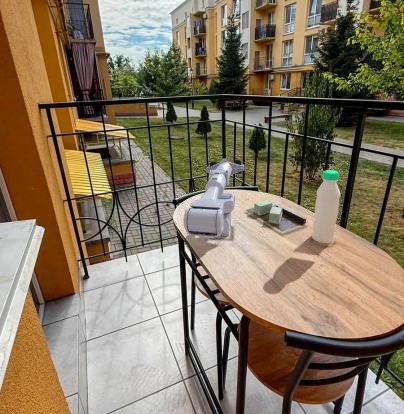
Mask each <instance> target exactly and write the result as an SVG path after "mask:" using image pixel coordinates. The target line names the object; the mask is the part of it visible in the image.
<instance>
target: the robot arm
mask: <svg viewBox="0 0 404 414" xmlns="http://www.w3.org/2000/svg"><path fill="white" fill-rule="evenodd" d="M244 171H245V164H242V160H241V159H235V160H234V162H230V161H228V158H222V159H221V160H220V162H218V161H210V163H209V166H207V167H206V173H207V174H208V180H207V183H206V184H205V192H204V194H203V195H202V196H201V197H200V199H198V200H195V201H193V202H191V203H190V206H189V207H187V208H186V209H185V211H184V214H183V220H182V221H183V222H182V223H183V228H184V230H185V232H186V234H187V235H191V236H196V237H199V238H204V239H213V240H214V239H216V240H220V238H219V237H229V236H230V232H231V230H232V212H233V211H234V210H235V207H236V195H235V193H234V192H224V190H225V189H226V188H228V187H229V184H230V177H231V176H232V175H241V174H242V173H243V172H244Z"/></svg>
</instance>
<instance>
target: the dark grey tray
mask: <svg viewBox="0 0 404 414" xmlns="http://www.w3.org/2000/svg"><path fill="white" fill-rule="evenodd" d="M266 200H267V201H270V202H272V203H274V204H276V207H281V208H282V217H281V220H280V224H275V223H269V215H270V213H266V214H263V215H260V216H259V215H258V214H256V213H254V212H253V210H254V207H251V208H248V209H245V211H246V212H248V213H250V214H251V215H253V216H254V217H257V218H258V219H259V220H261V221H263V222H265V223H267V224H268V225H270V226H271V227H273V228H276V230H278V231H280V232H284V231H285V232H286V231H288V230H291V229H294V228H297V227H300V226H302V225H305V224H307V218H306V217H305V216H303V215H300V214H298V213H297V212H294V211H292V210H290V209H288V208H286V207H284V206H281V205H280V204H277V203H276V202H274V201H271V200H269V199H266Z"/></svg>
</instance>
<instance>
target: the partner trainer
mask: <svg viewBox="0 0 404 414" xmlns="http://www.w3.org/2000/svg"><path fill="white" fill-rule="evenodd" d="M267 200H268V199H265V200H261V201H258V202H254V204H253V205H254V206H253V208H254V210H253V212H254V213H256V214H258V215H259V216H260V215H263V214H266V213H270V211H271V208H272V207H276V204H277V203H275V202H273V201H271V200H269V201H267ZM270 201H271V202H270ZM272 202H273V203H272ZM274 203H275V204H274Z"/></svg>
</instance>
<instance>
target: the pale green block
mask: <svg viewBox="0 0 404 414" xmlns="http://www.w3.org/2000/svg"><path fill="white" fill-rule="evenodd" d="M281 217H282V208H281V207H272V208H271V211H270V215H269V223H275V224H280V220H281Z"/></svg>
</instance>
